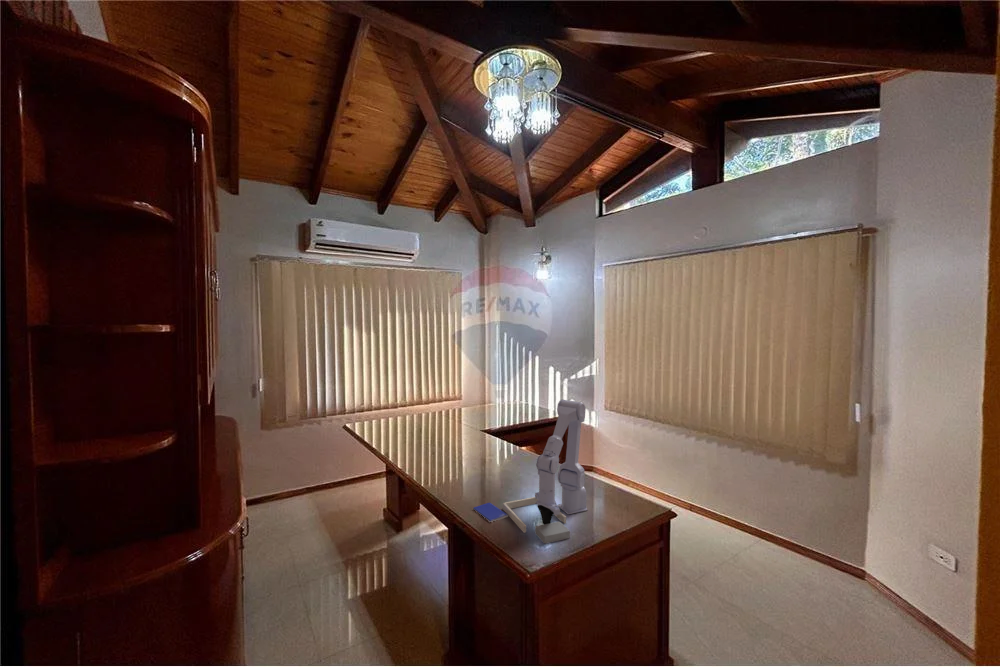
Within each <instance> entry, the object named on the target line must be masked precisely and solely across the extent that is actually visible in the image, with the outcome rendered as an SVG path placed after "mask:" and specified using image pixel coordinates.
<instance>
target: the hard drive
mask: <svg viewBox="0 0 1000 667" xmlns="http://www.w3.org/2000/svg"><path fill="white" fill-rule="evenodd" d="M473 509H474V510H475V511H477V512H478V513H479V514H481V515H482V516H483V517H484V518H483V517H482V516H481V515H480V516H481V517H482V518H483V519H485V518H486V519H487V520H488V523H490V522H492V523H494V522H493V521H495V522H497V521H496V520H498V521H500V520H503V519H505V518H506V519H507V518H508V517H509V516H508V514H507V513H506V512H505V511H504V510H503V509H502V510H501V509H500V508H499V507H497V506H495V505H494V504H493V503H491V502H487V503H484V504H481V505H478V506H474V507H473ZM473 509H472V510H473ZM474 510H473V511H474ZM477 512H476V513H477ZM478 513H477V514H478ZM479 514H478V515H479ZM486 519H485V520H486ZM487 520H486V521H487Z"/></svg>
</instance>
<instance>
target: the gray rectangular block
mask: <svg viewBox="0 0 1000 667" xmlns="http://www.w3.org/2000/svg"><path fill="white" fill-rule="evenodd" d="M534 534H535V535H536V536H537V537H538V539H539V540H540V541H541V542H543V544H545V545H546V544H549V543H554V542H558V541H561V540H567V539H570V538H571V531H570V530H569V528H567V527H566V525H565V524H564V523H563V522H562V521H560V520H559V521H555V522H551V523H549V524H544V525H543V524H538V525H535V526H534Z"/></svg>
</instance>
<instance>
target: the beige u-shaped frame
mask: <svg viewBox="0 0 1000 667" xmlns="http://www.w3.org/2000/svg"><path fill="white" fill-rule="evenodd" d="M536 501H538V499H536V498H535V496H532V497H527V498H523V499H515V500H511V501H506V502H502V511H503V512H505V513H506V514H507V515H508V517H509V518H510V519H511V520H512V521H513V523H515V525H516V526H517V527H518V528H519V529H520V531H522V532H523V533H524V534H526V533H527V525H526V524H525V522H524V521H522V519H521V518H520V517H519V516H518V515H517V514H516V513H515V512H514V511H513V510H512V509H515V508H522V507H525V506H531V505H535V504H536V505H537V503H536ZM554 516H555V517H556V518H557V519H558V520H559V521H560V522H561V523H562V524H563V525H565V524H567V516H566V515H565V514H563V513H562V512H561V511H560V514H559V515H554Z"/></svg>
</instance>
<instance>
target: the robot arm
mask: <svg viewBox="0 0 1000 667" xmlns="http://www.w3.org/2000/svg"><path fill="white" fill-rule="evenodd" d="M556 410H557V416H558V417H557V419H556V423H555V424H556V425H555V427H554V430H553V434H552V435H551V436H549V437H548V439H547V442H546V443H545V444H546V445H545V447H544V449H543V452H542V454H540V455H539V456H538V457H537V460H536V467H535V468H536V470H537V475H538V476H539V478H538V479H539V480H538V482H539V483H538V492H534V497H535V498H536V499H538V501H536V505H537V508H538V511H539V514H540V516H541V523H542V525H544V524H549V523H552V518H553V516H555V515H559V514H560V512H561V510H562V511H563V512H565V513H566V514H567V515H572V514H575V513H581V512H585V511H588V508H587V498H588V497H587V496H588V495H587V494H588V493H587V490H586V488H585V483H586V476H585V469H584V467H583V466H582V465H581V464H580V463H579V458H580V455H579V454H580V447H581V446H580V443H581V442H580V441H581V432H582V431H581V429H582V423H583V422H585V421H586V420H585V419H586V405H585V403H584V402H583V401H575V400H569V399H568V400H567V399H564V398H563V399H560V400H559V401H558V403H557V408H556ZM567 429H568V431H567ZM566 431H567V440H566V441H567V442H566V452H565V453H566V454H565V461H564V462H563V463H561V464H559V462H560V457H559V456H560V454H561V451H562V448H563V445H564V441H563V437H564V435H565V433H566ZM558 468H559V470H558ZM557 470H558V472H557ZM556 473H557V481H558V483H559V484H560V487H561V503H560V504H558V503H557V502H556V501H557V500H556V497H555V496H556Z"/></svg>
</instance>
